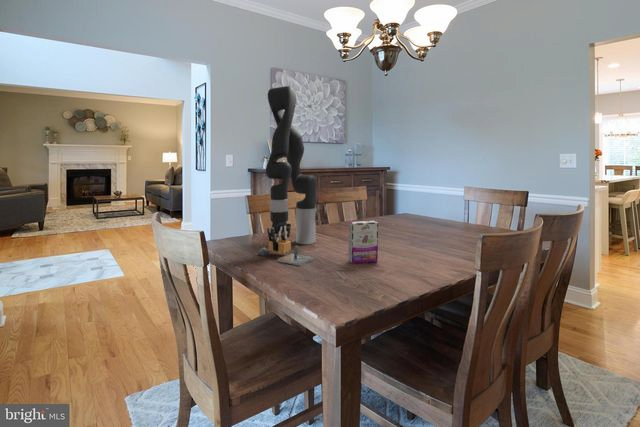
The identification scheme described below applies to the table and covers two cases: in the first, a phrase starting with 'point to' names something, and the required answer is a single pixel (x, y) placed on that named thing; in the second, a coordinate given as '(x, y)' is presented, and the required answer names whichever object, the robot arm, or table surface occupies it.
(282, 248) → the orange link
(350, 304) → the table surface
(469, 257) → the table surface
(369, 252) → the candy bar box
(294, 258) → the plate
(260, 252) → the grey knob block
